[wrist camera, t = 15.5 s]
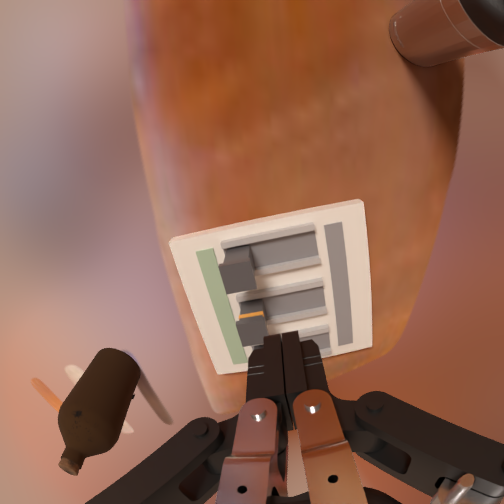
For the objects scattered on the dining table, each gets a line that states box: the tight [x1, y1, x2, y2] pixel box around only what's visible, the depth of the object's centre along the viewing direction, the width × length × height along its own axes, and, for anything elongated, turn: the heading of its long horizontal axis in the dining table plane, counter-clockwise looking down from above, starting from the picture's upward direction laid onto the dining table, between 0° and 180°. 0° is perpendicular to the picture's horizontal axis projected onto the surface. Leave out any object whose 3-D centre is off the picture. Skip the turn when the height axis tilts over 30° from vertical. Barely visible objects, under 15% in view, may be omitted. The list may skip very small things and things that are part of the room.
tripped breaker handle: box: [236, 299, 269, 347], centre depth 40 cm, size 4×4×6 cm
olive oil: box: [58, 348, 140, 475], centre depth 40 cm, size 11×11×25 cm
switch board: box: [169, 199, 372, 374], centre depth 41 cm, size 26×24×8 cm
